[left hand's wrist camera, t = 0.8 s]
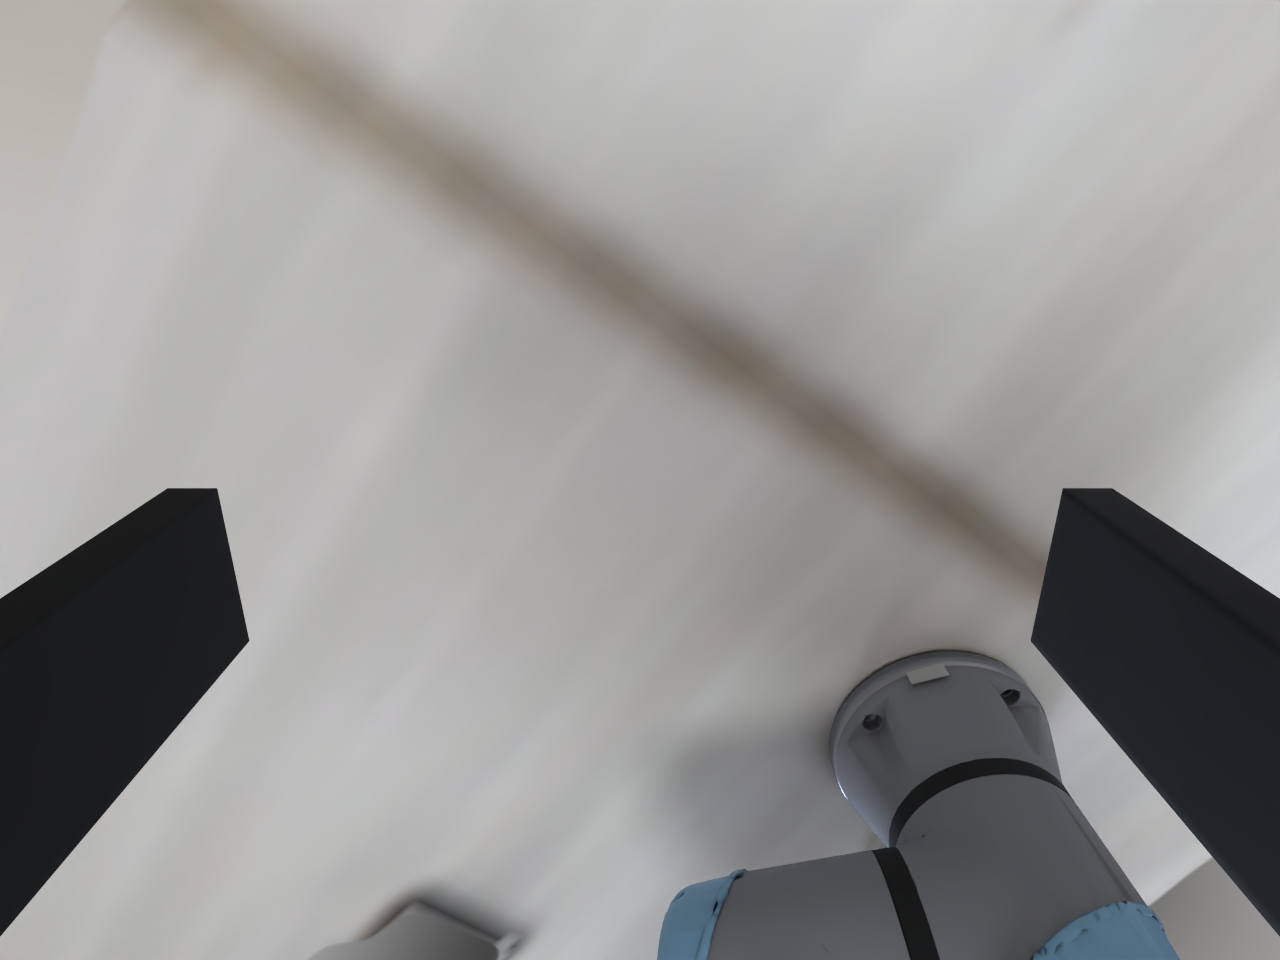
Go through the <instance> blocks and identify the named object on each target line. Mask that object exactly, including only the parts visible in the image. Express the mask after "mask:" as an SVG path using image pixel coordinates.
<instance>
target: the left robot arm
mask: <svg viewBox="0 0 1280 960" xmlns="http://www.w3.org/2000/svg"><path fill="white" fill-rule="evenodd" d="M248 642H249V637H248V633H247V628H246V623H245V618H244V614H243V609H242V604H241V599H240V595H239V590H238V585H237V581H236V576H235V571H234V566H233V562H232V557H231V552H230V547H229V543H228V538H227V533H226V528H225V524H224V519H223V514H222V510H221V505H220V500H219V495H218V491H217V488H168V489H166V490H165V491H163V492H162V493H160V494H159V495H157V496H156V497H154V498H152V499H151V500H149V501H148V502H146V503H145V504H143V505H142V506H140V507H139V508H137V509H136V510H134V511H133V512H131V513H130V514H128V515H127V516H125V517H124V518H122V519H121V520H119V521H118V522H116V523H115V524H113V525H112V526H110V527H108V528H107V529H105V530H104V531H102V532H101V533H99V534H98V535H96V536H95V537H93V538H92V539H90V540H89V541H87V542H86V543H84V544H83V545H81V546H80V547H78V548H77V549H75V550H74V551H72V552H71V553H69V554H68V555H66V556H64V557H63V558H61V559H60V560H58V561H57V562H55V563H54V564H52V565H51V566H49V567H48V568H46V569H45V570H43V571H42V572H40V573H39V574H37V575H36V576H34V577H33V578H31V579H30V580H28V581H27V582H25V583H24V584H22V585H20V586H19V587H17V588H16V589H14V590H13V591H11V592H10V593H8V594H7V595H5V596H4V597H2V598H1V599H0V936H1V935H2V934H3V932H4V931H5V930H6V929H7V928H8V927H9V925H10V924H11V923H12V922H13V921H14V919H15V918H16V917H17V916H18V915H19V914H20V912H21V911H22V910H23V909H24V908H25V906H26V905H27V904H28V903H29V902H30V900H31V899H32V898H33V897H34V896H35V895H36V893H37V892H38V891H39V890H40V889H41V887H42V886H43V885H44V884H45V883H46V881H47V880H48V879H49V878H50V877H51V876H52V874H53V873H54V872H55V871H56V870H57V868H58V867H59V866H60V865H61V864H62V862H63V861H64V860H65V859H66V858H67V857H68V855H69V854H70V853H71V852H72V851H73V849H74V848H75V847H76V846H77V845H78V843H79V842H80V841H81V840H82V839H83V838H84V836H85V835H86V834H87V833H88V832H89V830H90V829H91V828H92V827H93V826H94V825H95V823H96V822H97V821H98V820H99V819H100V817H101V816H102V815H103V814H104V813H105V811H106V810H107V809H108V808H109V807H110V806H111V804H112V803H113V802H114V801H115V800H116V798H117V797H118V796H119V795H120V794H121V792H122V791H123V790H124V789H125V788H126V787H127V785H128V784H129V783H130V782H131V781H132V779H133V778H134V777H135V776H136V775H137V773H138V772H139V771H140V770H141V769H142V768H143V766H144V765H145V764H146V763H147V762H148V760H149V759H150V758H151V757H152V756H153V754H154V753H155V752H156V751H157V750H158V749H159V747H160V746H161V745H162V744H163V743H164V741H165V740H166V739H167V738H168V737H169V736H170V734H171V733H172V732H173V731H174V730H175V728H176V727H177V726H178V725H179V724H180V722H181V721H182V720H183V719H184V718H185V717H186V715H187V714H188V713H189V712H190V711H191V709H192V708H193V707H194V706H195V705H196V703H197V702H198V701H199V700H200V699H201V698H202V696H203V695H204V694H205V693H206V692H207V690H208V689H209V688H210V687H211V686H212V684H213V683H214V682H215V681H216V680H217V679H218V677H219V676H220V675H221V674H222V673H223V671H224V670H225V669H226V668H227V667H228V665H229V664H230V663H231V662H232V661H233V660H234V658H235V657H236V656H237V655H238V654H239V652H240V651H241V650H242V649H243V648H244V646H245V645H246V644H247V643H248ZM1031 642H1032V643H1033V644H1034V645H1035V646H1036V648H1037V649H1038V650H1039V651H1040V652H1041V654H1042V655H1043V656H1044V657H1045V658H1046V660H1047V661H1048V662H1049V663H1050V664H1051V665H1052V667H1053V668H1054V669H1055V670H1056V671H1057V673H1058V674H1059V675H1060V676H1061V677H1062V679H1063V680H1064V681H1065V682H1066V683H1067V684H1068V686H1069V687H1070V688H1071V689H1072V690H1073V692H1074V693H1075V694H1076V695H1077V696H1078V698H1079V699H1080V700H1081V701H1082V702H1083V703H1084V705H1085V706H1086V707H1087V708H1088V709H1089V711H1090V712H1091V713H1092V714H1093V715H1094V717H1095V718H1096V719H1097V720H1098V721H1099V722H1100V724H1101V725H1102V726H1103V727H1104V728H1105V730H1106V731H1107V732H1108V733H1109V734H1110V736H1111V737H1112V738H1113V739H1114V740H1115V741H1116V743H1117V744H1118V745H1119V746H1120V747H1121V749H1122V750H1123V751H1124V752H1125V753H1126V754H1127V756H1128V757H1129V758H1130V759H1131V760H1132V762H1133V763H1134V764H1135V765H1136V766H1137V768H1138V769H1139V770H1140V771H1141V772H1142V773H1143V775H1144V776H1145V777H1146V778H1147V779H1148V781H1149V782H1150V783H1151V784H1152V785H1153V787H1154V788H1155V789H1156V790H1157V791H1158V792H1159V794H1160V795H1161V796H1162V797H1163V798H1164V800H1165V801H1166V802H1167V803H1168V804H1169V806H1170V807H1171V808H1172V809H1173V810H1174V811H1175V813H1176V814H1177V815H1178V816H1179V817H1180V819H1181V820H1182V821H1183V822H1184V823H1185V825H1186V826H1187V827H1188V828H1189V829H1190V830H1191V832H1192V833H1193V834H1194V835H1195V836H1196V838H1197V839H1198V840H1199V841H1200V842H1201V843H1202V845H1203V846H1204V847H1205V848H1206V849H1207V851H1208V852H1209V853H1210V854H1211V855H1212V857H1213V858H1214V859H1215V860H1216V861H1217V862H1218V864H1219V865H1220V866H1221V867H1222V868H1223V870H1224V871H1225V872H1226V873H1227V874H1228V876H1229V877H1230V878H1231V879H1232V880H1233V881H1234V883H1235V884H1236V885H1237V886H1238V887H1239V889H1240V890H1241V891H1242V892H1243V893H1244V895H1245V896H1246V897H1247V898H1248V899H1249V900H1250V902H1251V903H1252V904H1253V905H1254V906H1255V908H1256V909H1257V910H1258V911H1259V912H1260V913H1261V915H1262V916H1263V917H1264V918H1265V919H1266V921H1267V922H1268V923H1269V924H1270V925H1271V927H1272V928H1273V929H1274V930H1275V931H1276V932H1277V934H1278V935H1279V936H1280V599H1279V598H1278V597H1276V596H1275V595H1273V594H1272V593H1270V592H1269V591H1267V590H1266V589H1264V588H1263V587H1261V586H1260V585H1258V584H1256V583H1255V582H1253V581H1252V580H1250V579H1249V578H1247V577H1246V576H1244V575H1243V574H1241V573H1240V572H1238V571H1237V570H1235V569H1234V568H1232V567H1231V566H1229V565H1228V564H1226V563H1225V562H1223V561H1222V560H1220V559H1219V558H1217V557H1216V556H1214V555H1212V554H1211V553H1209V552H1208V551H1206V550H1205V549H1203V548H1202V547H1200V546H1199V545H1197V544H1196V543H1194V542H1193V541H1191V540H1190V539H1188V538H1187V537H1185V536H1184V535H1182V534H1181V533H1179V532H1178V531H1176V530H1175V529H1173V528H1172V527H1170V526H1168V525H1167V524H1165V523H1164V522H1162V521H1161V520H1159V519H1158V518H1156V517H1155V516H1153V515H1152V514H1150V513H1149V512H1147V511H1146V510H1144V509H1143V508H1141V507H1140V506H1138V505H1137V504H1135V503H1134V502H1132V501H1131V500H1129V499H1128V498H1126V497H1124V496H1123V495H1121V494H1120V493H1118V492H1117V491H1115V490H1114V489H1112V488H1063V491H1062V495H1061V500H1060V505H1059V510H1058V514H1057V519H1056V524H1055V528H1054V533H1053V538H1052V543H1051V547H1050V552H1049V557H1048V562H1047V566H1046V571H1045V576H1044V581H1043V585H1042V590H1041V595H1040V599H1039V604H1038V609H1037V614H1036V618H1035V623H1034V628H1033V633H1032V637H1031ZM830 757H831V762H832V765H833V768H834V772H835V775H836V778H837V781H838V783H839V786H840V788H841V790H842V792H843V794H844V795H845V797H846V798H847V800H848V801H849V803H850V804H851V805H852V807H853V808H854V809H855V810H856V811H857V813H858V814H859V815H860V816H861V817H862V818H863V820H864V821H865V822H866V823H867V824H868V825H869V827H870V828H871V829H872V830H873V831H874V833H875V834H876V835H877V836H878V837H879V838H880V840H881V841H882V842H883V843H884V844H885V845H886V847H887V848H883V849H878V850H870V851H864V852H858V853H852V854H846V855H841V856H835V857H829V858H823V859H817V860H811V861H806V862H800V863H794V864H788V865H782V866H776V867H770V868H765V869H759V870H753V871H747V870H745V869H741V870H736V871H734V872H732V873H731V874H730V875H729V876H727V877H722V878H718V879H714V880H710V881H705V882H701V883H697V884H693V885H690V886H687V887H686V888H684V889H682V890H681V891H680V892H679V893H678V894H677V895H676V896H675V898H674V899H673V900H672V902H671V904H670V906H669V908H668V911H667V912H666V914H665V918H664V921H663V925H662V929H661V934H660V940H659V948H658V957H657V960H1180V959H1179V957H1178V955H1177V954H1176V952H1175V950H1174V949H1173V947H1172V946H1171V944H1170V942H1169V941H1168V939H1167V935H1166V933H1165V931H1164V927H1163V925H1162V923H1161V921H1160V919H1159V918H1158V917H1157V916H1156V914H1155V913H1154V911H1153V910H1152V909H1151V908H1149V907H1148V906H1147V905H1146V904H1145V902H1144V901H1143V899H1142V898H1141V897H1140V895H1139V894H1138V892H1137V891H1136V889H1135V888H1134V886H1133V885H1132V884H1131V882H1130V881H1129V879H1128V878H1127V876H1126V875H1125V874H1124V872H1123V871H1122V869H1121V868H1120V866H1119V865H1118V863H1117V862H1116V861H1115V859H1114V858H1113V856H1112V855H1111V853H1110V852H1109V851H1108V849H1107V848H1106V846H1105V845H1104V843H1103V842H1102V841H1101V839H1100V838H1099V836H1098V835H1097V833H1096V832H1095V830H1094V829H1093V828H1092V826H1091V825H1090V823H1089V822H1088V820H1087V819H1086V818H1085V816H1084V815H1083V813H1082V812H1081V810H1080V809H1079V807H1078V806H1077V805H1076V803H1075V802H1074V800H1073V799H1072V797H1071V796H1070V795H1069V793H1068V792H1067V790H1066V789H1065V787H1064V786H1063V784H1062V780H1061V776H1060V771H1059V767H1058V762H1057V758H1056V753H1055V749H1054V744H1053V740H1052V736H1051V731H1050V727H1049V723H1048V721H1047V717H1046V715H1045V712H1044V710H1043V708H1042V706H1041V704H1040V702H1039V701H1038V700H1037V698H1036V697H1035V696H1034V694H1033V693H1032V691H1031V690H1030V689H1029V687H1028V686H1027V685H1026V683H1025V682H1024V681H1023V680H1022V679H1021V678H1020V677H1019V676H1018V675H1017V674H1016V673H1015V672H1014V671H1012V670H1011V669H1010V668H1008V667H1007V666H1005V665H1003V664H1002V663H1000V662H998V661H996V660H993V659H991V658H988V657H985V656H982V655H978V654H973V653H968V652H959V651H941V652H931V653H924V654H920V655H916V656H912V657H909V658H906V659H903V660H900V661H898V662H895V663H893V664H891V665H889V666H887V667H885V668H883V669H881V670H880V671H878V672H876V673H875V674H873V675H872V676H870V677H869V678H868V679H866V680H865V681H864V682H863V683H862V684H860V685H859V686H858V687H857V688H856V689H855V690H854V691H853V692H852V693H851V695H850V696H849V697H848V698H847V699H846V701H845V702H844V704H843V705H842V707H841V708H840V710H839V712H838V714H837V716H836V718H835V721H834V723H833V727H832V730H831V735H830Z"/></svg>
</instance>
